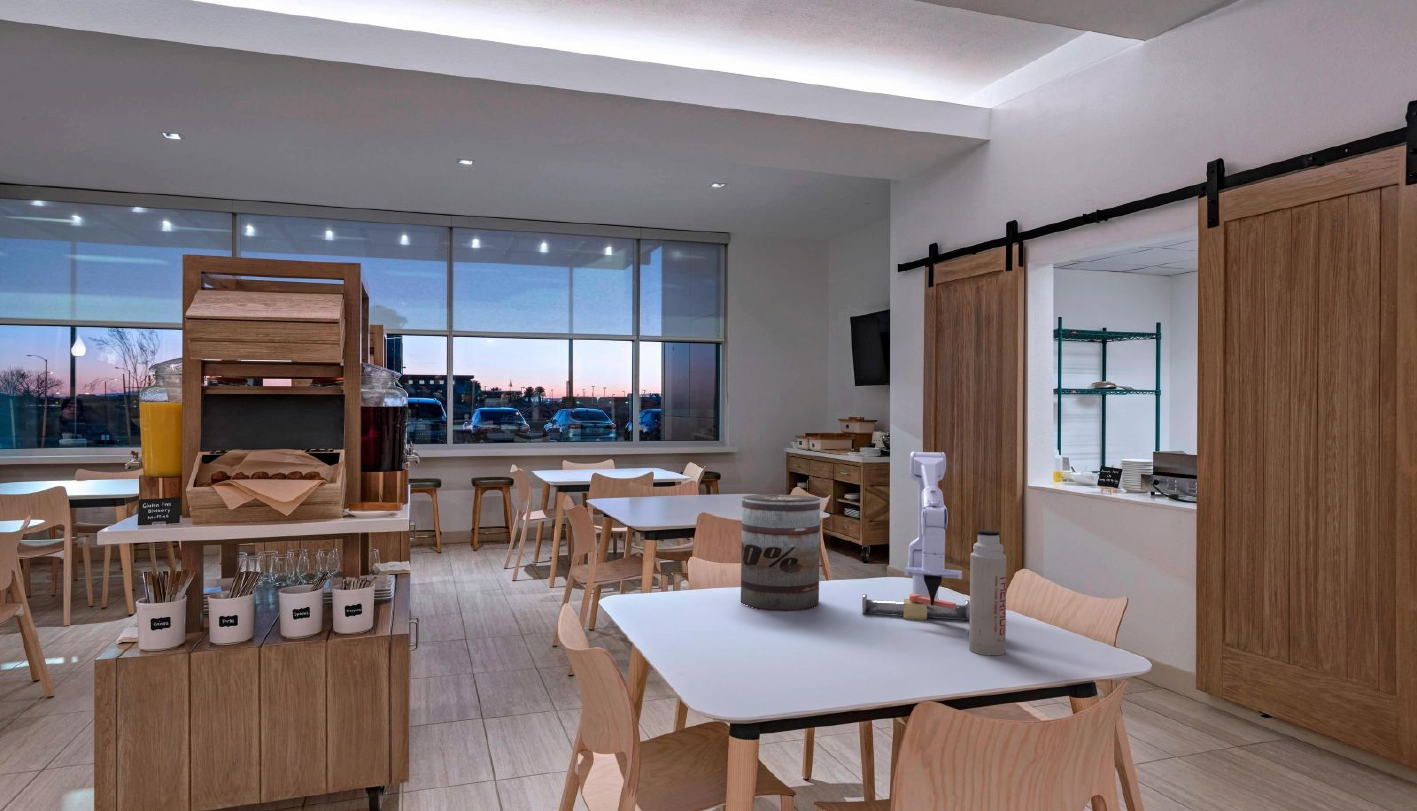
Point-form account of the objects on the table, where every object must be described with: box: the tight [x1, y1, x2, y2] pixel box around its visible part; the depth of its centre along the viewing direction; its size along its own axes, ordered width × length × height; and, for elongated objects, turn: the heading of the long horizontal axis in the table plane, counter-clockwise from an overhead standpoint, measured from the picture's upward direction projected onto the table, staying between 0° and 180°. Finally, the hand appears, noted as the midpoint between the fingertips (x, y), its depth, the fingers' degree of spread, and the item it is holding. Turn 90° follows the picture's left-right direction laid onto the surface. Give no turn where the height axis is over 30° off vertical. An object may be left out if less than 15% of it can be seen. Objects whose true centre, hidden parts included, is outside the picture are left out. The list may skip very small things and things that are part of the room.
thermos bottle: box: [968, 529, 1007, 656], centre depth 200 cm, size 8×8×28 cm
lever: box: [908, 593, 957, 609], centre depth 229 cm, size 14×3×1 cm, turn 40°
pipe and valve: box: [861, 593, 970, 621], centre depth 233 cm, size 6×28×5 cm, turn 77°
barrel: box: [740, 493, 821, 612], centre depth 248 cm, size 22×22×30 cm
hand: (932, 604), depth 226 cm, fingers closed, pressing on lever
